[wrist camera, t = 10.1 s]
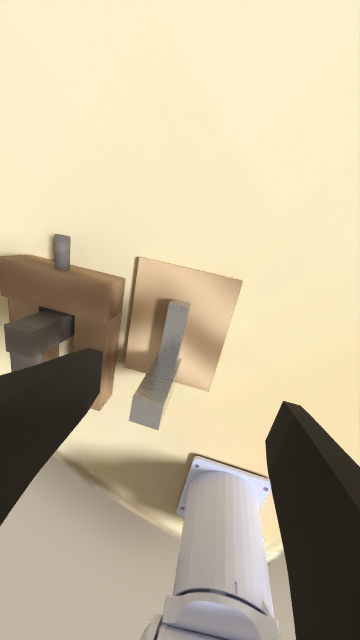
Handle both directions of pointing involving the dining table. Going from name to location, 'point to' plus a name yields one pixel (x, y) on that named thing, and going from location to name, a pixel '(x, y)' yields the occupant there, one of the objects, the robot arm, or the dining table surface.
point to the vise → (60, 311)
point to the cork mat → (202, 326)
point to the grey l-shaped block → (161, 370)
